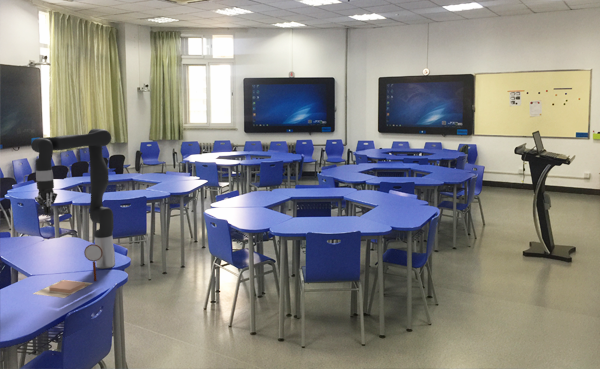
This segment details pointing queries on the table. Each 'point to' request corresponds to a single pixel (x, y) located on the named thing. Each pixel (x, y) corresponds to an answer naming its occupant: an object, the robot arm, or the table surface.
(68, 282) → the tile
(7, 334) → the table surface
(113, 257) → the robot arm
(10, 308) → the table surface
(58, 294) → the board
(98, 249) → the magnifying glass
